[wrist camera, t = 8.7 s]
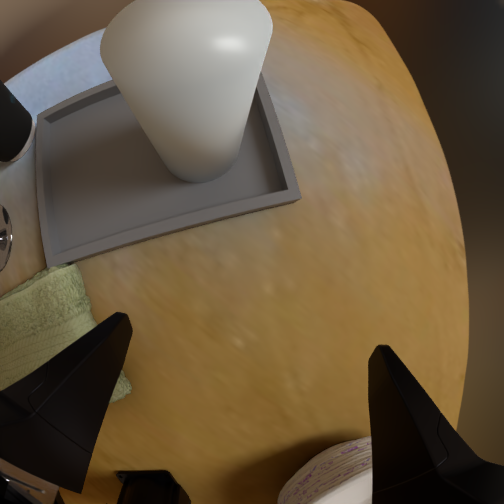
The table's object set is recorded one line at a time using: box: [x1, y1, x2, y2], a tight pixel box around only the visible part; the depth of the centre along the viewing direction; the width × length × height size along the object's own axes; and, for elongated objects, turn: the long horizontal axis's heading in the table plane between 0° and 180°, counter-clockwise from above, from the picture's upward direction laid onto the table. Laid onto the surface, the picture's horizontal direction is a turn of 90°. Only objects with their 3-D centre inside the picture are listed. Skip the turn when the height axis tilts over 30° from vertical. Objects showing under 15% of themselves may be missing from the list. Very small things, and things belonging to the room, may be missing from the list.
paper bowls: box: [278, 436, 372, 504], centre depth 18 cm, size 15×15×8 cm
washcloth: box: [0, 264, 132, 403], centre depth 17 cm, size 13×18×3 cm
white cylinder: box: [100, 0, 273, 183], centre depth 13 cm, size 6×6×13 cm
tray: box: [36, 72, 302, 269], centre depth 18 cm, size 20×14×2 cm
